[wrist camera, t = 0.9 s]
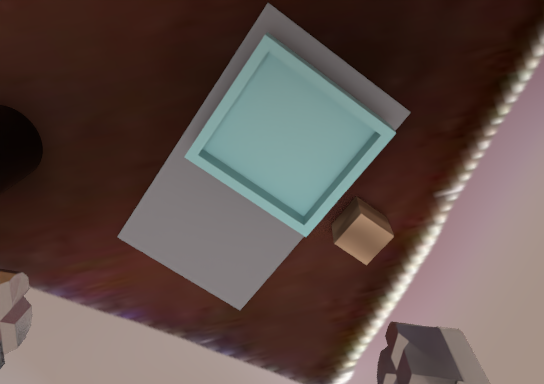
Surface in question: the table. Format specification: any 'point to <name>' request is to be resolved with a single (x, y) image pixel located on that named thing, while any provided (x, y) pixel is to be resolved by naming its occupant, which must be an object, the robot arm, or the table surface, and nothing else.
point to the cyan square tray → (289, 137)
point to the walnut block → (361, 231)
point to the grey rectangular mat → (224, 200)
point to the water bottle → (17, 147)
